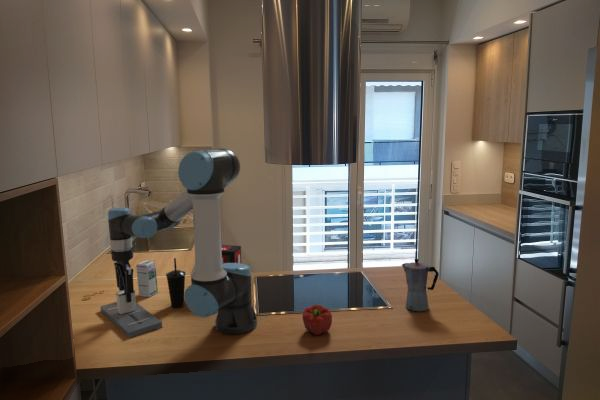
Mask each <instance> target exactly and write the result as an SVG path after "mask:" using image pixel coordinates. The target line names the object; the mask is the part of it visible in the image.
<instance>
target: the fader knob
mask: <svg viewBox="0 0 600 400" xmlns="http://www.w3.org/2000/svg"><path fill="white" fill-rule="evenodd" d="M123 293H124V290H123V291H120V290H119V291H116V292H115V295H116V302H117V309H118V313H119V314H124V313H128V312H131V311H135V310H136V303H137V302H136V301H137V300H136V299H137V298H136V290H135V289H134V293H131V294H132V306H133V309H130V310H127V311H125V306H124V295H123Z"/></svg>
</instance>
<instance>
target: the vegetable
mask: <svg viewBox="0 0 600 400" xmlns="http://www.w3.org/2000/svg"><path fill="white" fill-rule="evenodd" d="M332 315H333V314H332V313H331V311H330V310H329V308H327V307H325V306H323V305H320V304H314V305H311V306H309V307H306V308H304V311H303V312H302V320H303V321H302V322H303V324H304V325H303V326H304V328H305V329H306V331H308V332H309V333H312V334H313V335H314V336H318V335H319V336H320V335H321V334H322V333H323V334H325V333H327V332H328V331H330V328H331V327H332V322H333V316H332Z"/></svg>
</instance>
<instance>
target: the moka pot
mask: <svg viewBox="0 0 600 400" xmlns="http://www.w3.org/2000/svg"><path fill="white" fill-rule="evenodd" d="M419 260H420V259H418V258H415V259H414V262H404V263H402V264H401V267H402V268H403V271H404V273H405V279H406V285H407V293H406V301H405V308H406V309H407V310H410V311H411V312H412V311H414V312H424V311H427V310H429V307H430V305H429V300H428V293H427V292H428V291H433V290H435V286H436V283H437V281H438V278H439V272H438V270H437V269H436V268H435V266H429V264H426V263H423V262H419ZM431 272H434V277H433V280H432V283H431V286H430V287H428V286H427V285H428V283H427V281H428V277H429V276H428V274H429V273H431ZM427 290H428V291H427Z"/></svg>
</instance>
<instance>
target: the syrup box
mask: <svg viewBox="0 0 600 400" xmlns="http://www.w3.org/2000/svg"><path fill="white" fill-rule="evenodd" d="M135 265H136V266H135V268H136V278H137V288H138V289H137V290H138V296H139V297H145V298H151V297H152V296H154V295H156V294H158V293H159V290H158V277H157V266H156V261H154V260H147V259H146V260H143V261H142V262H139V263H137V264H135Z"/></svg>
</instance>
